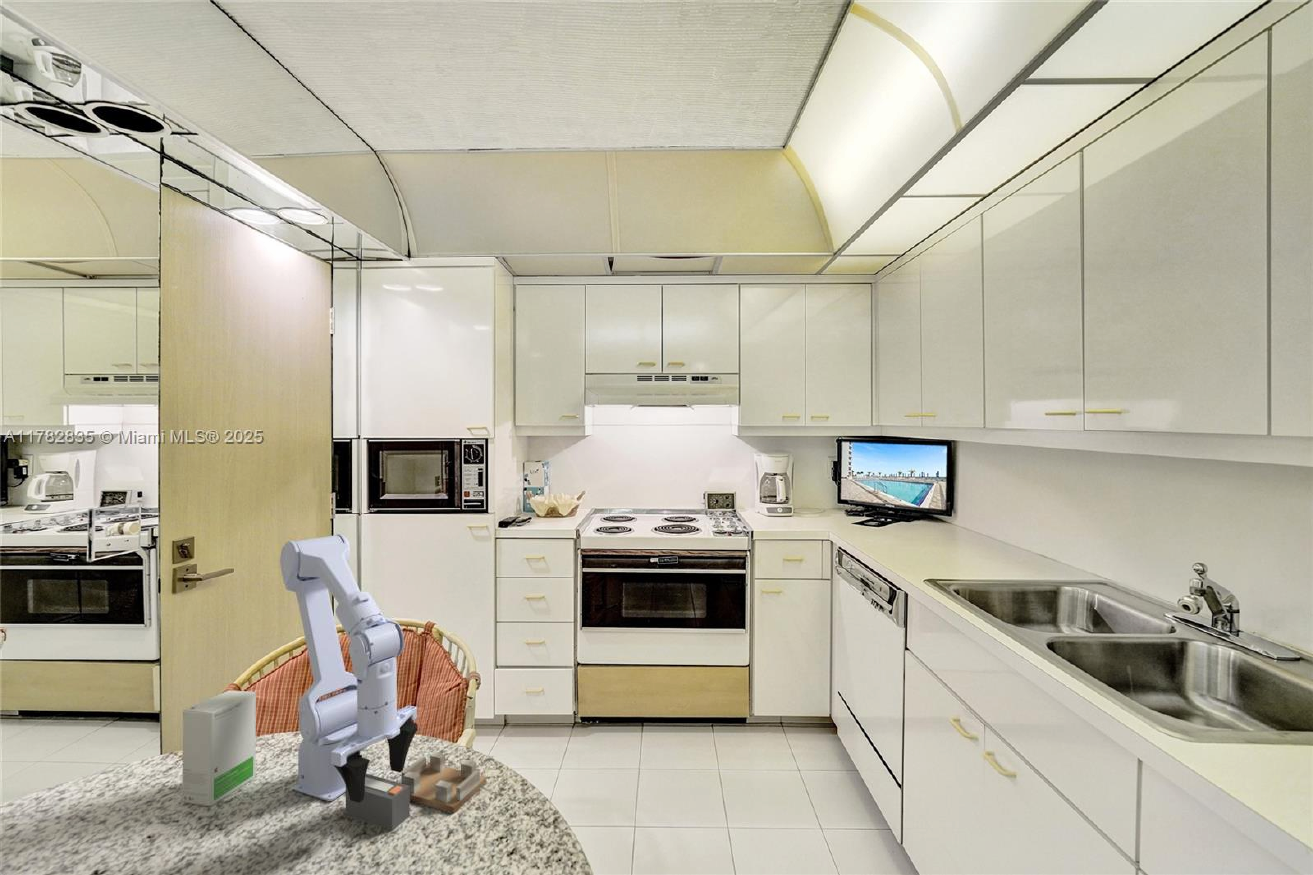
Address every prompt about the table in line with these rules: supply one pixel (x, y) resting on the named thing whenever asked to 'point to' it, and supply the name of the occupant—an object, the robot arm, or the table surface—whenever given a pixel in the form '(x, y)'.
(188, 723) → the skincare box
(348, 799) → the grey rectangular block
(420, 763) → the mounting board
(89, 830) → the table surface
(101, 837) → the table surface
